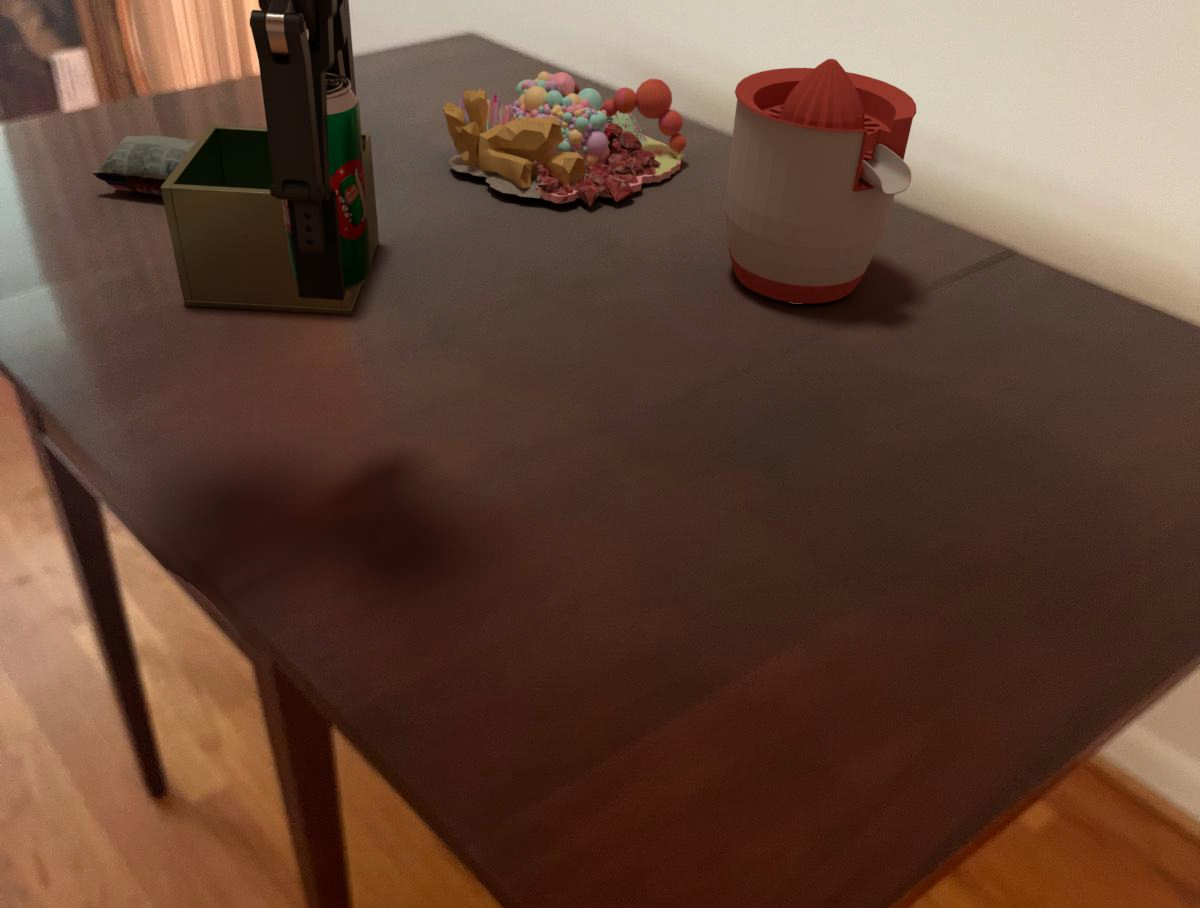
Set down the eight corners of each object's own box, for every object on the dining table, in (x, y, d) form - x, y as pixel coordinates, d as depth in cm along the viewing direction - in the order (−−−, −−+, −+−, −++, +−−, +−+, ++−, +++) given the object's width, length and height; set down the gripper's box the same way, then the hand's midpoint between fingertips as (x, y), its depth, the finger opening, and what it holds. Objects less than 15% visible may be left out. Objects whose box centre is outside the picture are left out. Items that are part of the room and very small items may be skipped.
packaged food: (138, 165, 124) (127, 117, 121) (242, 179, 123) (235, 131, 120) (95, 197, 118) (83, 148, 115) (205, 212, 116) (196, 163, 113)
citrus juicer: (812, 343, 102) (857, 108, 89) (679, 268, 112) (701, 47, 99) (924, 296, 110) (981, 75, 97) (791, 231, 120) (825, 21, 107)
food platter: (597, 229, 118) (601, 137, 112) (409, 174, 126) (403, 85, 120) (705, 155, 134) (714, 71, 128) (533, 111, 143) (534, 30, 137)
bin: (184, 306, 102) (160, 187, 95) (228, 235, 113) (209, 123, 106) (351, 315, 102) (339, 197, 95) (379, 244, 113) (370, 133, 106)
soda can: (285, 265, 75) (260, 70, 67) (363, 257, 77) (347, 65, 69) (298, 301, 72) (274, 100, 64) (380, 292, 73) (366, 94, 65)
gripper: (327, -114, 52) (365, 350, 67) (391, -180, 66) (411, 219, 81) (158, -126, 52) (235, 341, 67) (257, -190, 65) (302, 211, 81)
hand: (331, 274), depth 74 cm, fingers closed on soda can, 5 cm apart
